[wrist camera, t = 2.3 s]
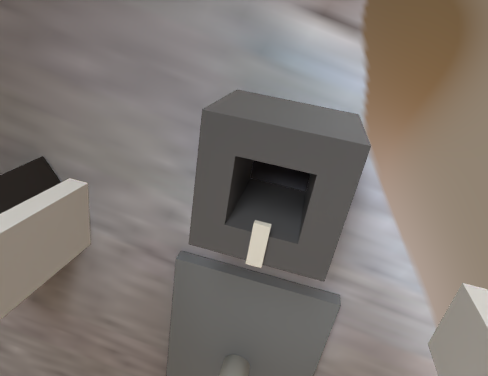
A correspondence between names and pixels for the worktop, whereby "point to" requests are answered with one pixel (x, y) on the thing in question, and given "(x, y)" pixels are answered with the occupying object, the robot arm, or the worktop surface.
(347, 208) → the gray square frame
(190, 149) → the worktop surface
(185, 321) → the panel
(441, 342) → the robot arm
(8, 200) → the phone stand
